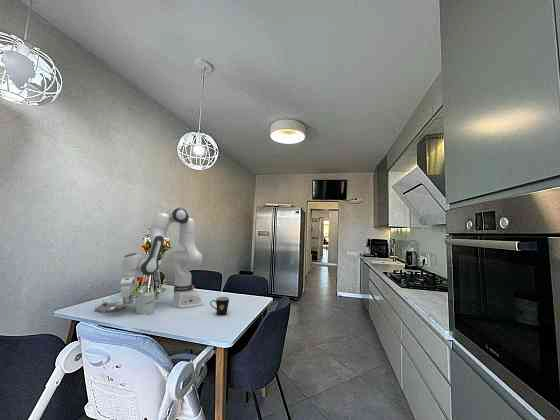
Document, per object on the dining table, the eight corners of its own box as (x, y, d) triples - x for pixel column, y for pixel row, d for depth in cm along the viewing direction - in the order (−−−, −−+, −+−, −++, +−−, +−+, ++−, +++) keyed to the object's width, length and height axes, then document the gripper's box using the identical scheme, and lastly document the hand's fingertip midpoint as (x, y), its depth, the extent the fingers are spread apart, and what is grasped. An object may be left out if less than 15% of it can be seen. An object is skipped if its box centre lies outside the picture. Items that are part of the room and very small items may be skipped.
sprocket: (113, 303, 164) (114, 296, 164) (130, 307, 158) (131, 300, 159) (89, 310, 150) (90, 302, 150) (107, 314, 144) (108, 306, 144)
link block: (133, 301, 155) (133, 294, 155) (131, 303, 151) (132, 296, 152) (124, 302, 153) (124, 295, 153) (122, 304, 150) (123, 296, 150)
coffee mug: (230, 312, 160) (231, 297, 161) (223, 316, 152) (224, 301, 153) (216, 310, 164) (217, 295, 165) (208, 314, 156) (209, 298, 157)
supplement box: (143, 316, 147) (145, 295, 148) (135, 314, 150) (137, 294, 151) (153, 313, 154) (155, 293, 155) (145, 311, 156) (147, 291, 158)
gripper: (128, 275, 161) (126, 295, 161) (119, 283, 142) (118, 306, 142) (138, 274, 164) (137, 294, 163) (131, 282, 144) (130, 305, 144)
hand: (128, 300), depth 152 cm, fingers closed on link block, 3 cm apart
